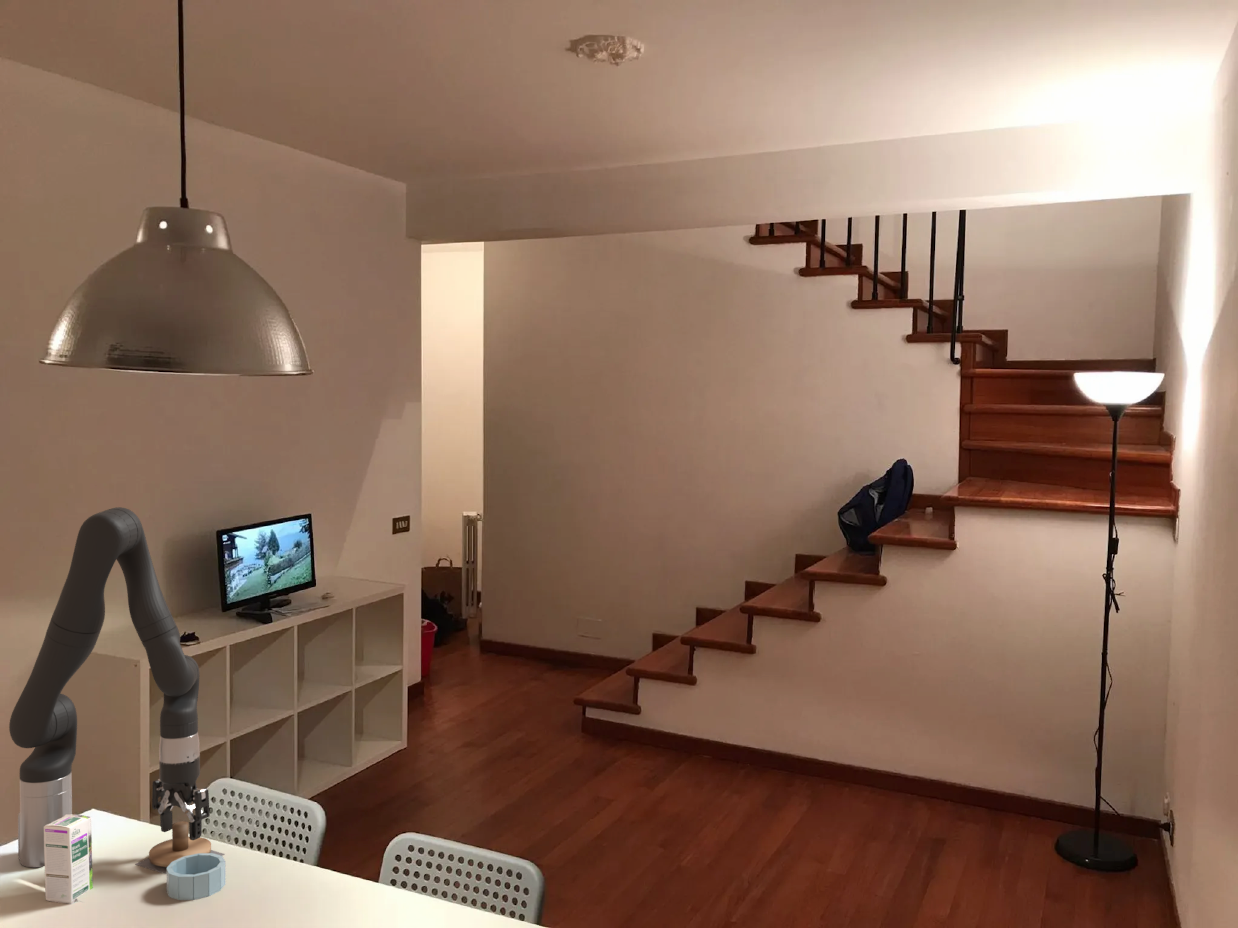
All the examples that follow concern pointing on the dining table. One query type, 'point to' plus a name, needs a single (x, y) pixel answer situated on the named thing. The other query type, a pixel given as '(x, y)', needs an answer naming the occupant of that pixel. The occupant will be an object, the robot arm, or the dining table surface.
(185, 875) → the bowl
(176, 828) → the lid
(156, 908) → the dining table surface
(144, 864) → the mat
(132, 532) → the robot arm
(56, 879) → the syrup box
